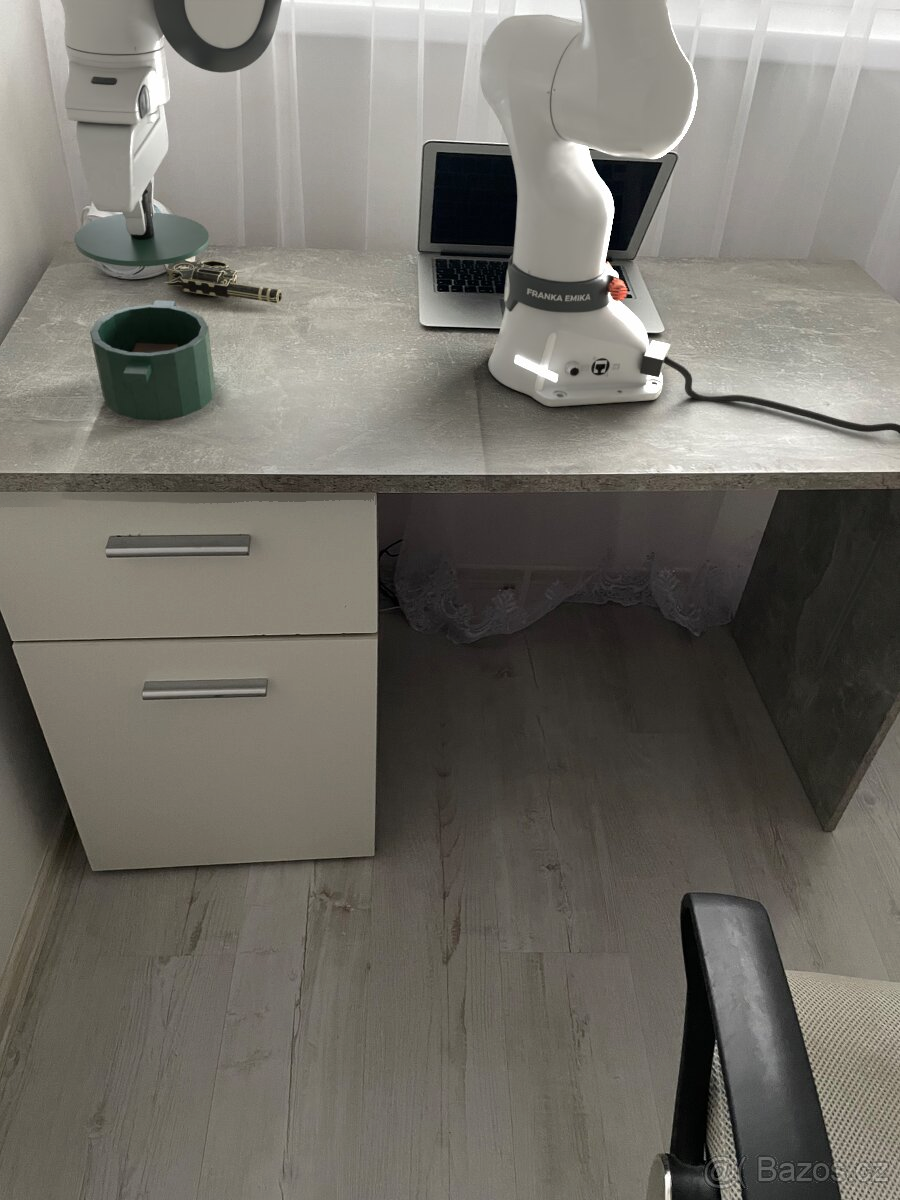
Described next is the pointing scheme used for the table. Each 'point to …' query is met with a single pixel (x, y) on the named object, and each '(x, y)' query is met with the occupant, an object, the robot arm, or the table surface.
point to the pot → (154, 361)
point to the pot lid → (142, 239)
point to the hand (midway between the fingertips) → (141, 225)
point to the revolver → (215, 280)
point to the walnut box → (153, 347)
